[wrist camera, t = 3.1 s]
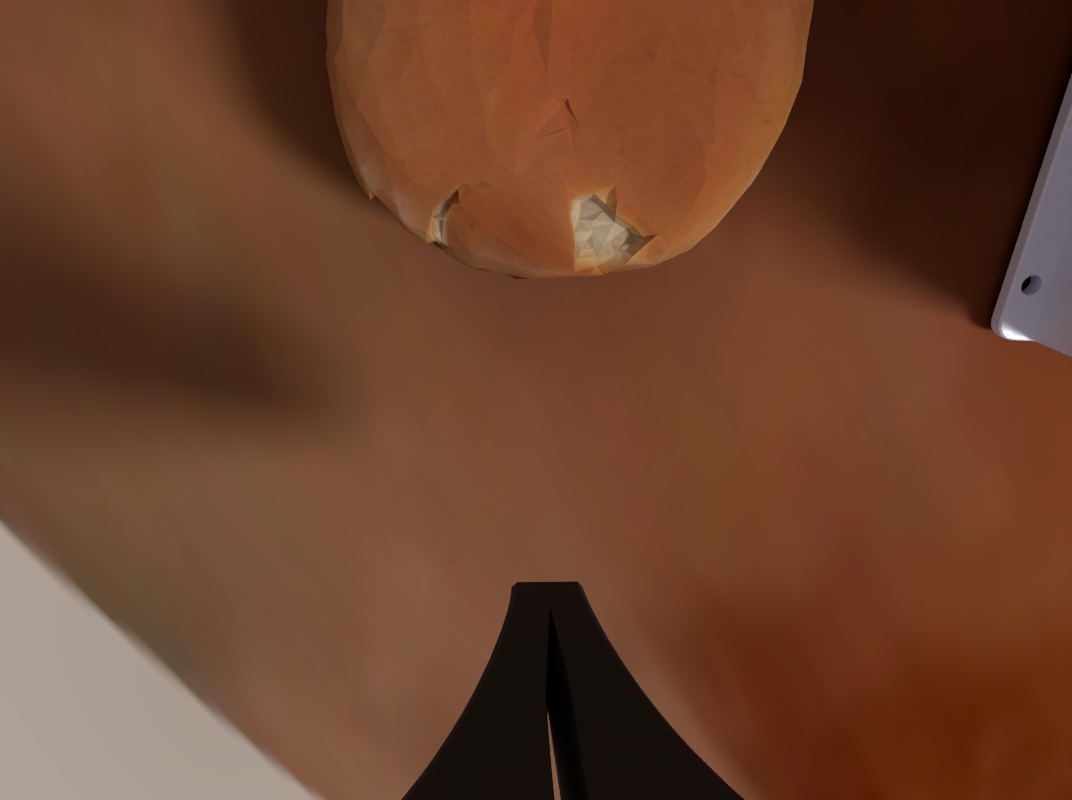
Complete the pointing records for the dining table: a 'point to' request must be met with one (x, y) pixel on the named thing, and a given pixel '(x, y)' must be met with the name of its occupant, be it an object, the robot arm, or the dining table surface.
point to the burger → (562, 121)
